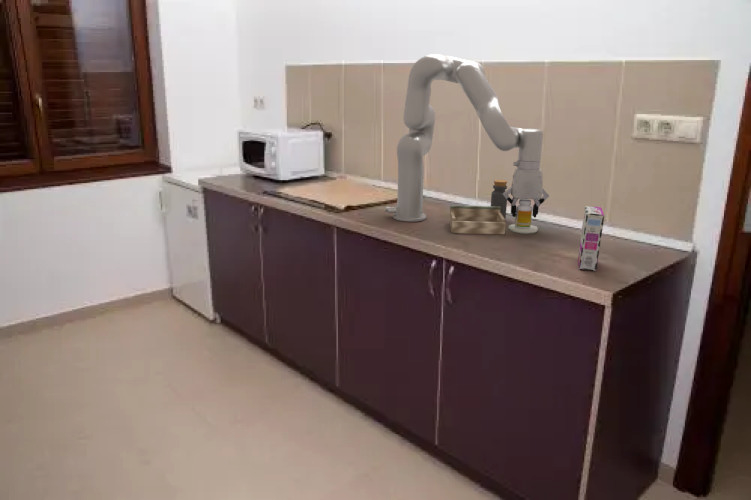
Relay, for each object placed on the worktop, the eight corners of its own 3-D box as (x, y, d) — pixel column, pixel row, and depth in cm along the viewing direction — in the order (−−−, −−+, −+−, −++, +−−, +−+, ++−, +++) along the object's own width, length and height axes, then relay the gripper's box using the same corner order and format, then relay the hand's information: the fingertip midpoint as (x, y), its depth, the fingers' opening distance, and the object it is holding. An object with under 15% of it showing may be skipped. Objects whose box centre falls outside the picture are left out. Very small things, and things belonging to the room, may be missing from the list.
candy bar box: (597, 272, 163) (605, 215, 158) (578, 270, 164) (585, 213, 160) (595, 260, 173) (602, 206, 169) (577, 258, 175) (584, 205, 170)
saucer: (511, 233, 202) (511, 230, 201) (506, 226, 211) (506, 223, 211) (540, 234, 201) (540, 231, 201) (534, 226, 211) (534, 224, 210)
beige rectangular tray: (452, 232, 201) (453, 213, 199) (449, 223, 213) (450, 205, 212) (504, 234, 200) (506, 215, 198) (498, 224, 213) (500, 206, 211)
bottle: (505, 222, 216) (508, 182, 212) (489, 221, 217) (492, 181, 213) (505, 219, 222) (508, 179, 217) (489, 218, 223) (492, 179, 218)
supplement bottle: (533, 228, 204) (536, 201, 201) (519, 229, 203) (522, 202, 200) (525, 224, 209) (527, 198, 206) (511, 225, 208) (514, 198, 205)
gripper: (505, 166, 196) (500, 218, 202) (556, 167, 196) (551, 219, 201) (501, 163, 203) (497, 213, 209) (551, 164, 203) (546, 214, 208)
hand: (523, 215), depth 205 cm, fingers open, 6 cm apart
